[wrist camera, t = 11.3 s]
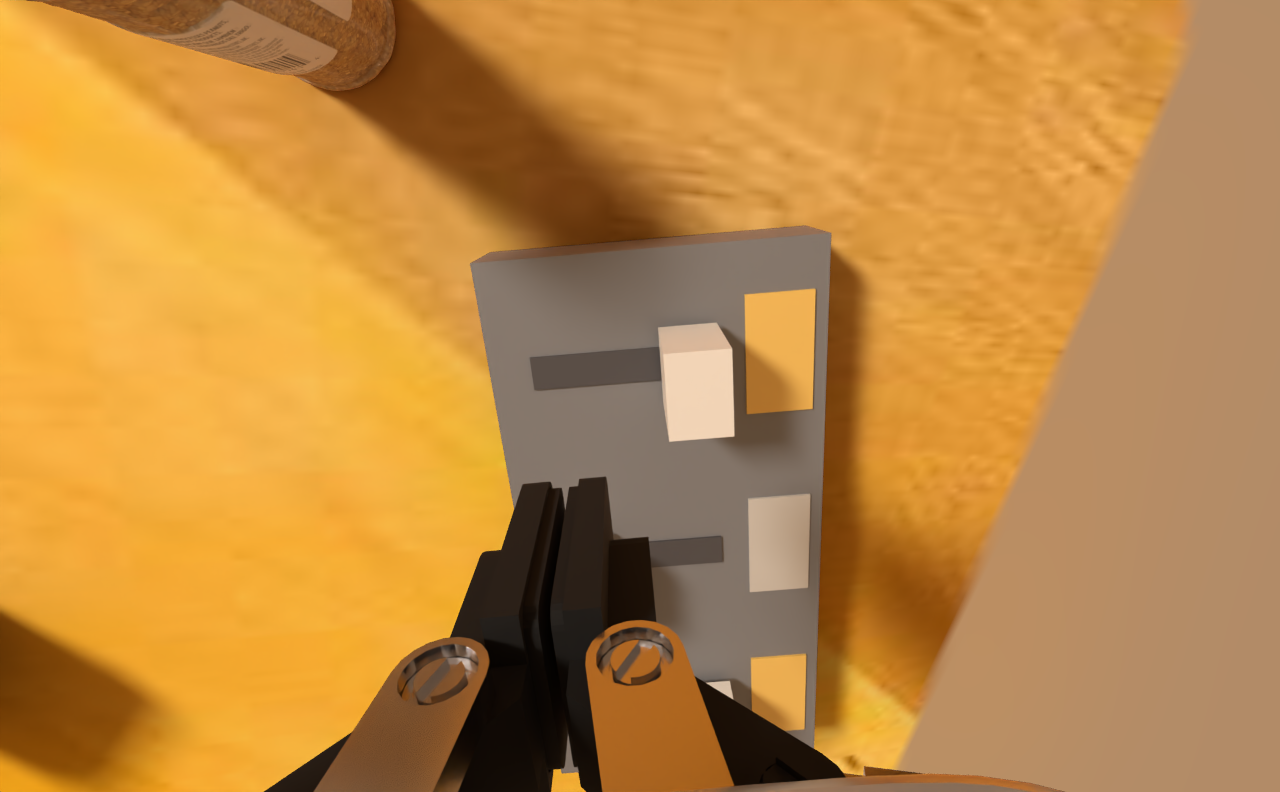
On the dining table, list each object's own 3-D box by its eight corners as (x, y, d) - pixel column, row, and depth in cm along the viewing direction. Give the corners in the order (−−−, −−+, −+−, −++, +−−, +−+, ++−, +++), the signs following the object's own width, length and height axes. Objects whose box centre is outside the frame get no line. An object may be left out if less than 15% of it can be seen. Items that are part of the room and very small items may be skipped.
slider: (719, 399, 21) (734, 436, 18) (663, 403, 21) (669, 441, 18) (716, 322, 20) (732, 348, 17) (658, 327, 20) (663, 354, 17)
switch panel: (796, 701, 31) (814, 756, 28) (567, 718, 31) (561, 775, 28) (805, 225, 22) (832, 233, 19) (490, 252, 22) (469, 263, 19)
